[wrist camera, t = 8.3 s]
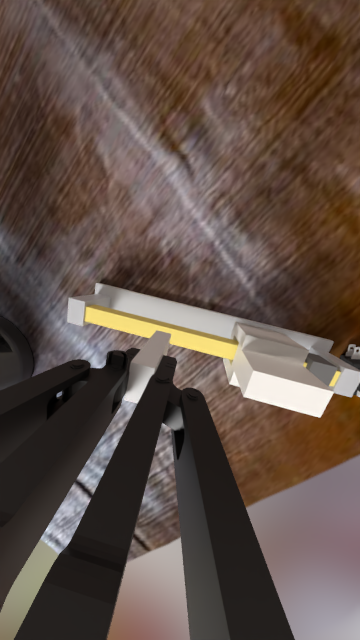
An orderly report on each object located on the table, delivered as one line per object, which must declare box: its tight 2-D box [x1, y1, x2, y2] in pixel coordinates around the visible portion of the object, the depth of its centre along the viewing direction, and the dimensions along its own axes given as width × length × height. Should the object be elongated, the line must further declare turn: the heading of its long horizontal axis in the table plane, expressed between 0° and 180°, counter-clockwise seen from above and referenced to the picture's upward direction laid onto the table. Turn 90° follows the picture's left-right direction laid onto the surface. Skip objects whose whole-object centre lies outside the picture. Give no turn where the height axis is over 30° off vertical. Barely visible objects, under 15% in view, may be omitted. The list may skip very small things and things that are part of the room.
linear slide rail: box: [67, 283, 360, 397], centre depth 22 cm, size 34×6×7 cm, turn 78°
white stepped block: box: [223, 321, 334, 418], centre depth 18 cm, size 6×6×10 cm
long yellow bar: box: [84, 305, 341, 386], centre depth 20 cm, size 32×3×3 cm, turn 78°
